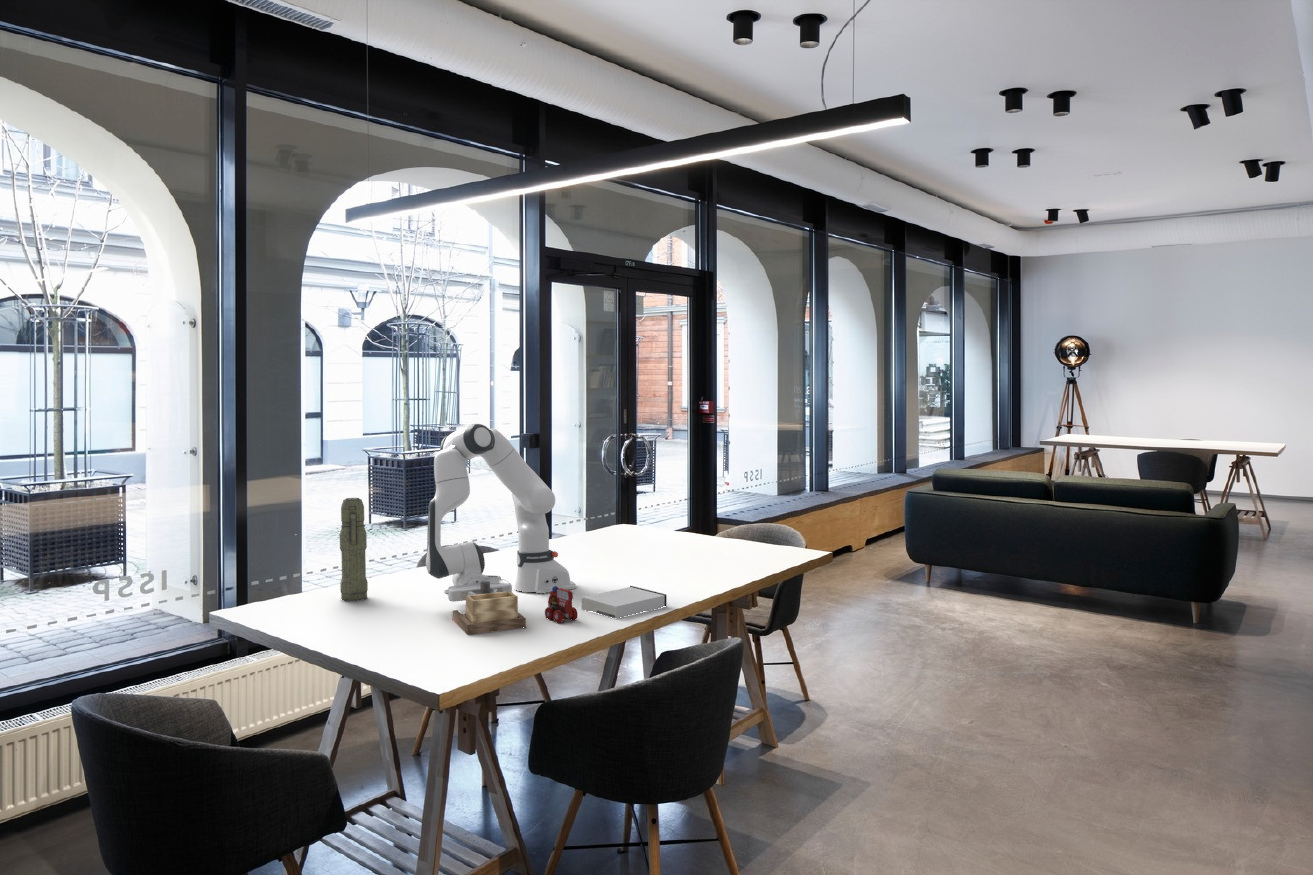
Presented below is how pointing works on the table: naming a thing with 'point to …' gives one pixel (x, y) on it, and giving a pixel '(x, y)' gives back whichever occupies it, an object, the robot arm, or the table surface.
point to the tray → (487, 624)
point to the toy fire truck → (560, 605)
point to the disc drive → (624, 602)
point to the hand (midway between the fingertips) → (486, 596)
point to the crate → (491, 605)
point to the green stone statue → (353, 551)
